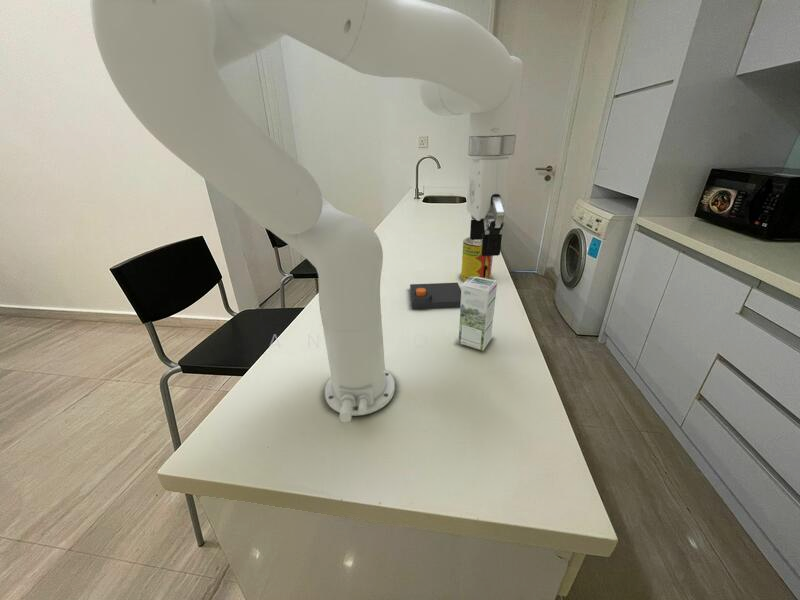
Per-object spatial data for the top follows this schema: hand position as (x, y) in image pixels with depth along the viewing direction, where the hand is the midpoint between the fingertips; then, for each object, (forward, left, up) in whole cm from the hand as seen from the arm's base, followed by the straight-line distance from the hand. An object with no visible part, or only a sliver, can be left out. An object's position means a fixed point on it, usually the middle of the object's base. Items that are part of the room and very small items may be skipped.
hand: (483, 246), depth 63 cm
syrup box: (0, 0, -22) cm, 22 cm away
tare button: (+18, +11, -19) cm, 28 cm away
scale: (+22, +6, -22) cm, 31 cm away
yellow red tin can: (+35, -8, -22) cm, 42 cm away
